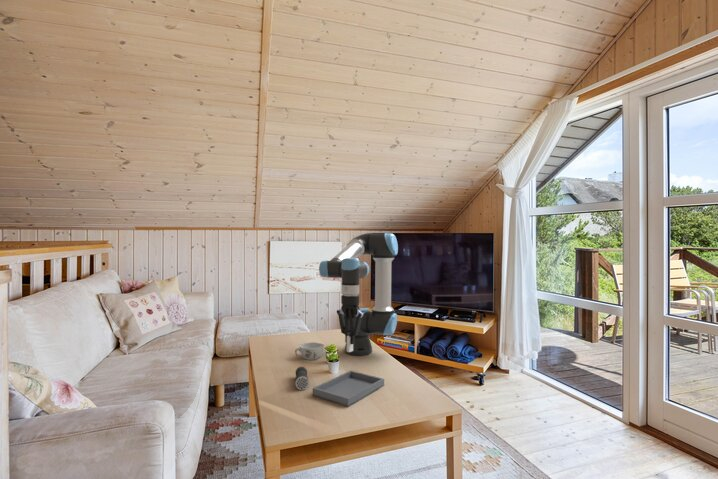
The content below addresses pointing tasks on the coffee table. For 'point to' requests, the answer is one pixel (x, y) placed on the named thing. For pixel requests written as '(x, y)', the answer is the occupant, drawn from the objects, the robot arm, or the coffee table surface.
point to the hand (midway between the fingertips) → (349, 351)
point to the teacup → (310, 350)
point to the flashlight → (300, 374)
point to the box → (348, 388)
